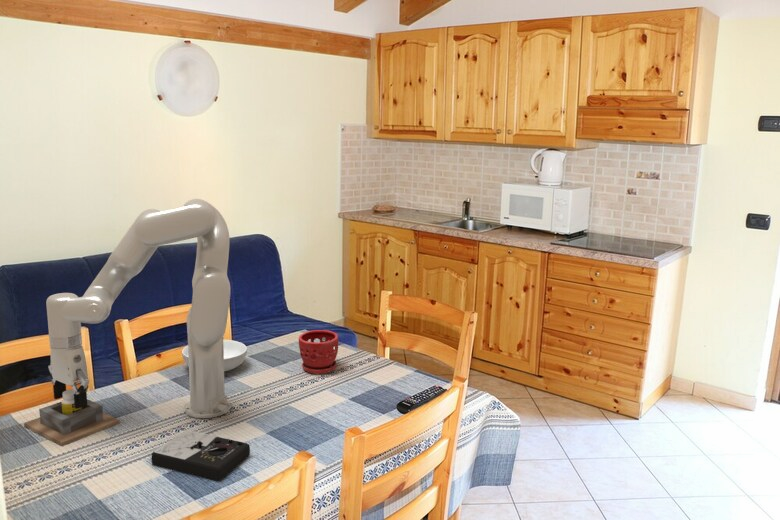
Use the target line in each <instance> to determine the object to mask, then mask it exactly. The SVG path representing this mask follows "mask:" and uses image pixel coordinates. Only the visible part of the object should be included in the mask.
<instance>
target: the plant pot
mask: <svg viewBox="0 0 780 520" xmlns="http://www.w3.org/2000/svg"><path fill="white" fill-rule="evenodd" d="M323 338H325V340H323ZM316 339H318V340H319V342H315V340H316ZM309 340H310V341H309ZM298 347H299V354H300V357H301V360H302V364H301V367H302V369H303V370H304V371H305V372H307V373H309V374H314V375H315V374H316V375H321V374H327V372H328V373H331V372H332V371H333V370H335V369H336V367H337V361H336V359H337V356H338V352H339V335H338V333H336V332H335V331H331V330H327V329H325V330H324V329H323V330H322V329H316V330H315V329H313V330H309V331H306V332H303V333H300V335H299V336H298Z"/></svg>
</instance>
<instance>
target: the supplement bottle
mask: <svg viewBox="0 0 780 520" xmlns="http://www.w3.org/2000/svg"><path fill="white" fill-rule="evenodd" d="M62 394H63V397H62V399H61V401H60V402H61V403H62V414H64V415H68V414H71V413H74V412H77V411H79V410H82V407H81V408H78V409H76V408H75V406H74V394H75V392H74V390H73V388H71V389H66V391H64V392H63V393H62Z"/></svg>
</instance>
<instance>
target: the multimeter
mask: <svg viewBox="0 0 780 520" xmlns="http://www.w3.org/2000/svg"><path fill="white" fill-rule="evenodd" d="M250 454H251V447H250V444H249V443H247V442H243V441H238V440H233V439H230V438H226V437H220V436H216V435H211V434H207V433H202V432H197V431H193V430H185V431H183V432H181V433H180V434H178V435H177V436H175V437H173V438H172V439H171V440H169V441H167V442H165V443H164V444H163V445H161V446H160V447H158V448H157V449H155V450H154V451H153V452H152V453H151V464H152V466H155V467H159V468H163V469H165V470H166V469H167V470H170V471H175V472H180V473H182V474H186V475H191V476H195V477H199V478H203V479H208V480H211V481H215V482H220V481H222V480H223V479H224V478H225V477H226V476H228V475H229V474H230V473H231V472H233V470H236V468H237V467H238V466H240V465H241V464H242V463H243V462H244V461H246V460H247V459H249V457H250Z"/></svg>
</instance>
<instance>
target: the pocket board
mask: <svg viewBox="0 0 780 520" xmlns="http://www.w3.org/2000/svg"><path fill="white" fill-rule="evenodd" d="M61 402H62V401H59V402H55V403H54V404H50V405H47V406H45V407H41V408H39V410H38V411H39V417H37V418H34V419H32V420H29V421H26V422H23V426H24V428H26V429H28V430H30V431H32V432H34V433H36V434H38V435H40V436H42V437H43V438H45V439H48V440H49V441H52V442H53V443H55V444H57V445H58V446H61V447H64V446H66V445H68V444H70V443H73V442H76V441H78V440H80V439H83V438H87V437H88V436H91V435H93V434H96V433H99V432H101V431H103V430H106V429H108V428H111V427H114V426H116V425H118V424H120V422H121V421H120V419H119V418H116V417H114V416H112V415H110V414H107V413H106V412H104V411H103V405H101V404H99V403H98V402H94V401H92V400H90V399H88V398H87V405H86V406H83V407H82V410H79V411H77V412H74V413H71V414H68V415H64V414H62V403H61Z"/></svg>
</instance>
